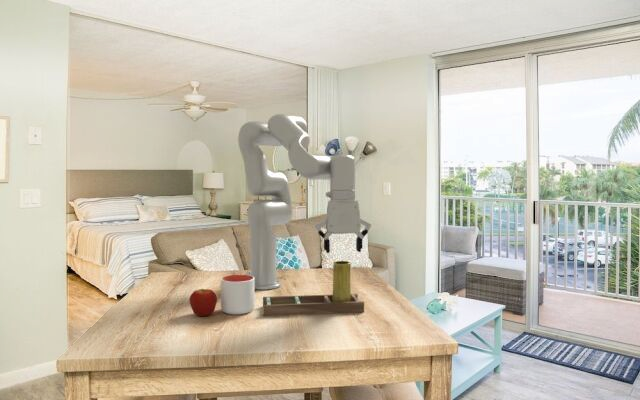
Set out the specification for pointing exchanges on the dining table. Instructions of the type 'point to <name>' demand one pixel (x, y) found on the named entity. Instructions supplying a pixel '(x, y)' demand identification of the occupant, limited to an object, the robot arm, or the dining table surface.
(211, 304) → the apple
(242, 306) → the cup
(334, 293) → the vase
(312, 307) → the wooden compartment tray
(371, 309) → the dining table surface
